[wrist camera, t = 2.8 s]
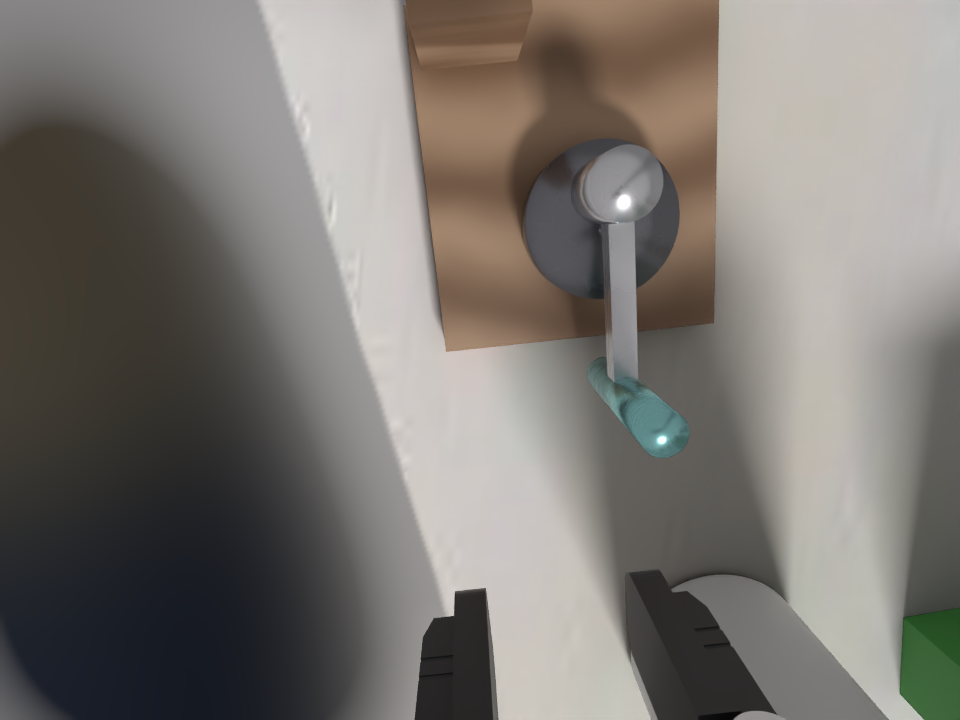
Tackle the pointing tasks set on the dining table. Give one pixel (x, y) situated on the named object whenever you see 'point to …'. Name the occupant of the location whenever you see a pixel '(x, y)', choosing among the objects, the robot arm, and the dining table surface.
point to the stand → (558, 148)
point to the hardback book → (932, 664)
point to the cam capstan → (610, 263)
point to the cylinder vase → (778, 652)
